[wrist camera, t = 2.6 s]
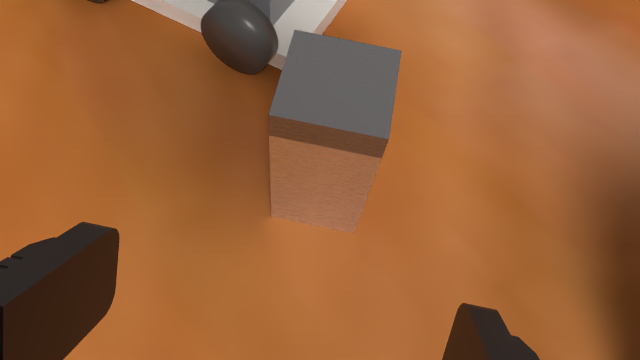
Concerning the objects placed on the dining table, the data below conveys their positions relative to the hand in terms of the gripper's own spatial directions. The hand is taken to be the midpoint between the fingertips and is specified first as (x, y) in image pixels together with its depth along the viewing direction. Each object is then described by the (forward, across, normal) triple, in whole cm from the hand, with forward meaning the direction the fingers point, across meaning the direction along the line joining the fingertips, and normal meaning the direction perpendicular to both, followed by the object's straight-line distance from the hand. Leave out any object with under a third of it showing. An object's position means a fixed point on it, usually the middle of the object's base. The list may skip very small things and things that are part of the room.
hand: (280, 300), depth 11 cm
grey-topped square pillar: (+18, 0, +3) cm, 18 cm away
